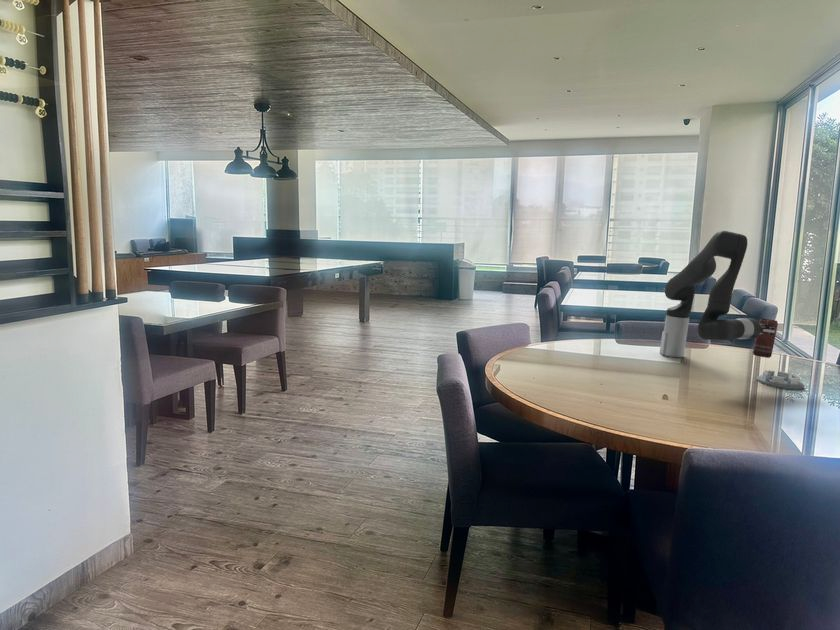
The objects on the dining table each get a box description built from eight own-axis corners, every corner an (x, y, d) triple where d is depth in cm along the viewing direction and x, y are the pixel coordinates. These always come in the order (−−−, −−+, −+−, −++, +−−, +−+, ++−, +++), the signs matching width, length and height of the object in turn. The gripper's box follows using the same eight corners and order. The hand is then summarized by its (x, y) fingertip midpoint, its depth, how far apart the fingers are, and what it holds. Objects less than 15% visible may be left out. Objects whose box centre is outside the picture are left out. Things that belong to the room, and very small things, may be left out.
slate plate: (765, 386, 207) (765, 384, 207) (750, 376, 222) (751, 373, 222) (811, 391, 205) (811, 389, 204) (793, 380, 219) (793, 378, 219)
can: (752, 355, 215) (760, 318, 213) (752, 353, 221) (759, 317, 219) (771, 358, 212) (779, 321, 210) (770, 356, 218) (777, 320, 216)
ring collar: (769, 383, 209) (770, 376, 208) (758, 375, 220) (759, 369, 219) (803, 387, 206) (804, 380, 206) (790, 378, 217) (791, 372, 217)
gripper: (763, 322, 202) (791, 321, 210) (728, 315, 214) (756, 314, 222) (759, 342, 203) (788, 341, 212) (724, 334, 215) (753, 333, 223)
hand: (771, 327), depth 217 cm, fingers closed
